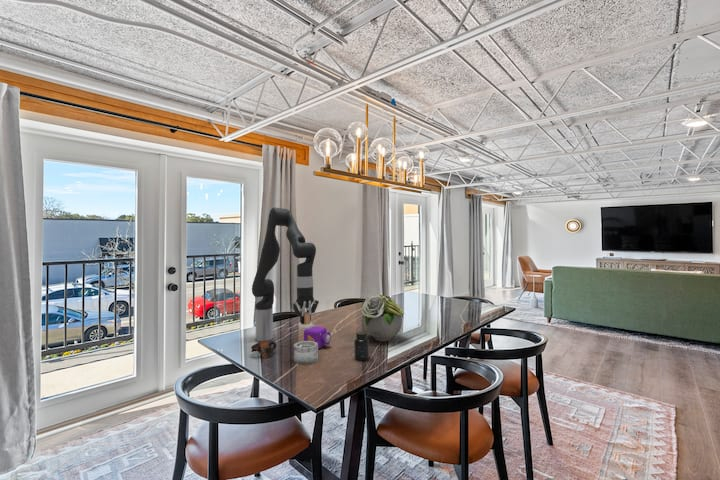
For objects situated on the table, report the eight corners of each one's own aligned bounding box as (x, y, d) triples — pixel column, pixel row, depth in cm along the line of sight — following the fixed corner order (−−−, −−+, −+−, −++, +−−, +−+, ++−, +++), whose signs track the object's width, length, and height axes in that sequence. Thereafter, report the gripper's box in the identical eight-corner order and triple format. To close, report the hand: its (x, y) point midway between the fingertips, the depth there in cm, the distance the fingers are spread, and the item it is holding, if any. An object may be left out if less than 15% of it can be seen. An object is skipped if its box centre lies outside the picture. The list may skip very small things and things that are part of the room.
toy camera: (327, 350, 170) (327, 330, 170) (301, 349, 173) (301, 329, 173) (333, 344, 181) (333, 325, 181) (309, 342, 184) (309, 324, 183)
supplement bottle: (353, 356, 162) (353, 331, 162) (368, 355, 163) (368, 330, 162) (355, 361, 155) (354, 335, 155) (369, 361, 156) (369, 334, 156)
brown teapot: (258, 362, 157) (251, 345, 159) (254, 365, 164) (247, 349, 166) (281, 350, 164) (274, 334, 166) (277, 353, 171) (270, 338, 173)
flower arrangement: (353, 343, 181) (352, 297, 181) (369, 331, 204) (369, 290, 204) (398, 349, 172) (398, 300, 171) (410, 335, 195) (410, 292, 195)
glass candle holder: (289, 358, 159) (289, 344, 159) (310, 353, 166) (310, 339, 166) (300, 365, 150) (300, 350, 150) (322, 360, 157) (322, 345, 157)
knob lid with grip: (296, 326, 159) (295, 312, 158) (308, 324, 162) (308, 310, 162) (302, 329, 154) (302, 314, 153) (314, 327, 157) (314, 312, 157)
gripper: (314, 283, 165) (314, 319, 165) (287, 286, 157) (288, 324, 157) (322, 285, 159) (322, 322, 159) (294, 288, 151) (295, 327, 151)
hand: (305, 323), depth 158 cm, fingers closed on knob lid with grip, 2 cm apart
